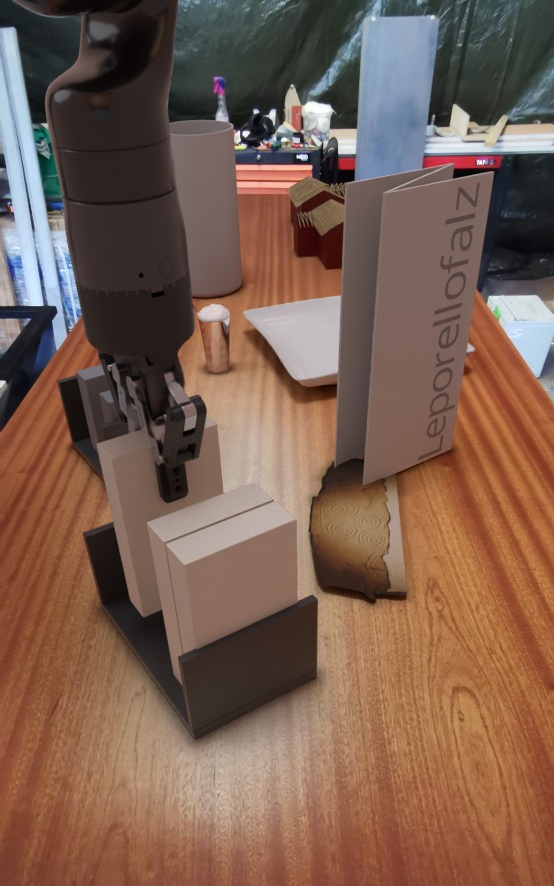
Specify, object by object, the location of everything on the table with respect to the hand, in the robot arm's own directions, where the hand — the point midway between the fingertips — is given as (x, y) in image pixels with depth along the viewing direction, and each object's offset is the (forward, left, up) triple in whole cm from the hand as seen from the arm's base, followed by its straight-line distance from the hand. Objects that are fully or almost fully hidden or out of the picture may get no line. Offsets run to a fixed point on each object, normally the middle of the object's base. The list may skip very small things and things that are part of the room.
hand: (165, 487), depth 60 cm
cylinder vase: (+45, +76, -15) cm, 90 cm away
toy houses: (+78, +79, -15) cm, 112 cm away
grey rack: (+9, +29, -15) cm, 34 cm away
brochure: (+34, +10, -15) cm, 38 cm away
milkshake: (+29, +45, -15) cm, 56 cm away
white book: (0, 0, -11) cm, 11 cm away
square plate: (+49, +38, -15) cm, 64 cm away
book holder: (0, -4, -15) cm, 15 cm away
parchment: (+22, +2, -15) cm, 27 cm away
